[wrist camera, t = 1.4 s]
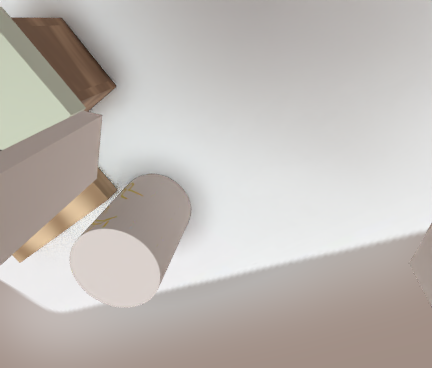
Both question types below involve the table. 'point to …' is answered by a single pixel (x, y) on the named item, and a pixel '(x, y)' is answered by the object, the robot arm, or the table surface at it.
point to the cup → (132, 242)
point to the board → (69, 215)
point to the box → (68, 58)
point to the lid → (28, 88)
